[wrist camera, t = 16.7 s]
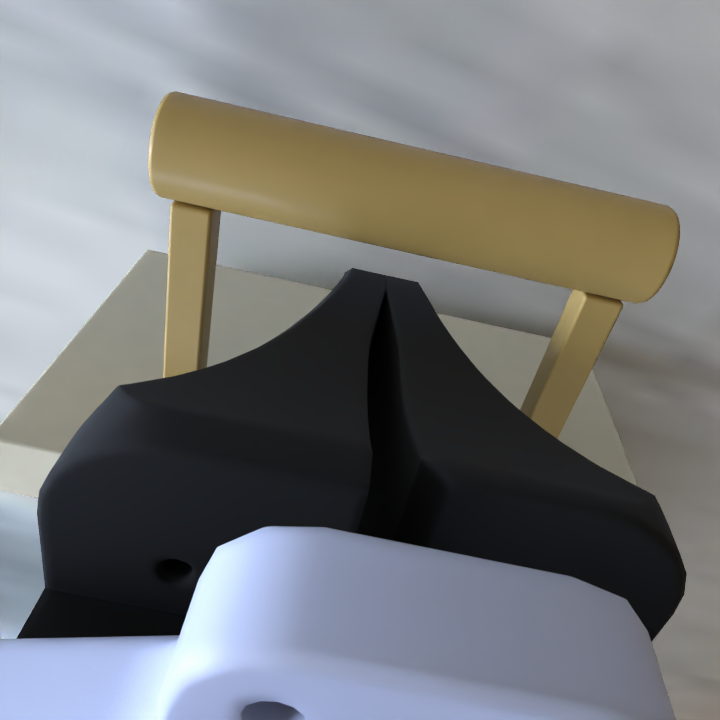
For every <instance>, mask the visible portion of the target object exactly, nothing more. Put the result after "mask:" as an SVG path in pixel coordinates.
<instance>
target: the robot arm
mask: <svg viewBox="0 0 720 720" xmlns="http://www.w3.org/2000/svg"><path fill="white" fill-rule="evenodd" d="M37 516H38V526H39V535H40V544H41V553H42V562H43V571H44V581H45V589H44V591H43V593H42V594H41V596H40V598H39V600H38V602H37V603H36V605H35V607H34V609H33V610H32V612H31V614H30V616H29V617H28V619H27V621H26V623H25V624H24V626H23V628H22V630H21V632H20V633H19V635H18V637H17V639H0V720H676V717H675V714H674V711H673V708H672V705H671V701H670V698H669V695H668V692H667V689H666V686H665V683H664V680H663V677H662V673H661V670H660V667H659V664H658V661H657V658H656V655H655V652H654V649H653V646H652V641H653V639H654V638H655V637H656V635H657V634H658V633H659V632H660V630H661V629H662V628H663V627H664V625H665V624H666V623H667V621H668V620H669V619H670V618H671V616H672V615H673V614H674V612H675V610H676V608H677V607H678V605H679V603H680V601H681V599H682V597H683V596H684V592H685V583H686V571H685V568H684V565H683V562H682V559H681V556H680V553H679V550H678V548H677V545H676V543H675V540H674V538H673V535H672V532H671V530H670V527H669V525H668V523H667V521H666V518H665V516H664V514H663V512H662V509H661V507H660V505H659V503H658V501H657V499H656V497H655V496H654V495H652V494H651V493H649V492H647V491H645V490H643V489H641V488H639V487H638V486H636V485H634V484H632V483H630V482H628V481H626V480H625V479H623V478H621V477H619V476H617V475H615V474H613V473H611V472H610V471H608V470H606V469H604V468H602V467H600V466H599V465H597V464H595V463H594V462H592V461H590V460H589V459H587V458H586V457H584V456H583V455H581V454H579V453H578V452H576V451H575V450H573V449H572V448H570V447H569V446H567V445H565V444H564V443H562V442H561V441H560V440H558V439H557V438H555V437H554V436H553V435H551V434H550V433H548V432H547V431H546V430H544V429H543V428H542V427H540V426H539V425H538V424H537V423H535V422H534V421H533V420H532V419H530V418H529V417H528V416H527V415H525V414H524V413H523V412H522V411H520V410H519V409H518V408H517V407H516V406H515V405H513V404H512V403H511V402H510V401H509V400H508V399H507V398H506V397H505V396H504V395H503V394H502V393H501V392H500V391H499V390H498V389H497V388H495V387H494V386H493V385H492V384H491V383H490V382H489V381H488V380H487V379H486V378H485V376H484V375H483V374H482V373H481V372H480V371H479V370H478V369H477V368H476V366H475V365H474V364H473V363H472V362H471V360H470V359H469V358H468V357H467V355H466V354H465V353H464V352H463V351H462V349H461V348H460V347H459V345H458V344H457V343H456V341H455V340H454V339H453V337H452V336H451V334H450V333H449V332H448V330H447V329H446V327H445V326H444V324H443V323H442V321H441V320H440V318H439V316H438V315H437V313H436V312H435V310H434V308H433V307H432V305H431V303H430V302H429V300H428V298H427V296H426V295H425V293H424V291H423V290H422V288H421V286H420V285H419V283H418V282H414V281H409V280H404V279H400V278H395V277H391V276H386V275H382V274H377V273H373V272H368V271H363V270H359V269H354V268H352V269H350V270H349V271H347V272H345V274H344V276H343V278H342V279H341V280H340V282H339V283H338V284H337V285H336V287H335V288H334V289H333V290H332V291H331V292H330V293H329V294H328V295H327V296H326V297H325V298H324V299H323V300H322V301H321V302H320V303H319V304H318V305H317V306H316V307H315V308H314V309H312V310H311V311H310V312H309V313H308V314H306V315H305V316H304V317H303V318H301V319H300V320H299V321H298V322H296V323H295V324H294V325H292V326H291V327H290V328H288V329H287V330H286V331H284V332H283V333H281V334H280V335H278V336H276V337H275V338H273V339H272V340H270V341H268V342H266V343H265V344H263V345H261V346H259V347H258V348H255V349H253V350H251V351H248V352H246V353H244V354H242V355H239V356H237V357H235V358H232V359H230V360H228V361H225V362H222V363H219V364H216V365H213V366H210V367H207V368H203V369H200V370H196V371H192V372H189V373H185V374H181V375H176V376H172V377H166V378H161V379H155V380H149V381H143V382H137V383H132V384H124V385H119V386H117V387H116V388H115V389H114V390H113V391H112V393H111V394H110V395H109V396H108V397H107V398H106V399H105V400H104V401H103V402H102V404H101V405H100V406H98V407H97V408H96V410H95V411H94V412H93V413H92V414H91V415H90V416H89V417H88V419H87V420H86V421H85V422H84V423H83V424H82V425H81V427H80V428H79V429H78V431H77V432H76V433H75V435H74V436H73V438H72V439H71V440H70V442H69V443H68V445H67V446H66V448H65V449H64V451H63V452H62V454H61V455H60V457H59V458H58V460H57V461H56V463H55V464H54V466H53V467H52V469H51V470H50V472H49V474H48V476H47V478H46V479H45V481H44V483H43V485H42V487H41V488H40V490H39V498H38V509H37Z"/></svg>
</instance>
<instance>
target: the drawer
mask: <svg viewBox="0 0 720 720" xmlns="http://www.w3.org/2000/svg"><path fill="white" fill-rule="evenodd" d="M148 169H149V178H150V183H151V187H152V189H153V191H154V192H155V193H156V194H157V195H159V196H160V197H162V198H167V199H171V200H175V201H174V202H173V203H172V204H171V206H170V228H169V251H168V254H166V253H161V252H157V251H152V250H147V251H146V252H145V253H144V254H143V255H142V257H141V258H140V259H139V260H138V261H137V263H136V264H135V265H134V266H133V267H132V268H131V270H130V271H129V272H128V273H127V274H126V276H125V277H124V278H123V279H122V280H121V282H120V283H119V284H118V285H117V286H116V287H115V289H114V290H113V291H112V292H111V293H110V295H109V296H108V297H107V298H106V299H105V301H104V302H103V303H102V304H101V305H100V306H99V308H98V309H97V310H96V311H95V312H94V314H93V315H92V316H91V317H90V318H89V320H88V321H87V322H86V323H85V324H84V325H83V327H82V328H81V329H80V330H79V331H78V333H77V334H76V335H75V336H74V337H73V339H72V340H71V341H70V342H69V343H68V344H67V346H66V347H65V348H64V349H63V350H62V352H61V353H60V354H59V355H58V356H57V358H56V359H55V360H54V361H53V362H52V363H51V365H50V366H49V367H48V368H47V369H46V371H45V372H44V373H43V374H42V375H41V377H40V378H39V379H38V380H37V381H36V382H35V384H34V385H33V386H32V387H31V388H30V390H29V391H28V392H27V393H26V394H25V396H24V397H23V398H22V399H21V400H20V401H19V403H18V404H17V405H16V406H15V407H14V409H13V410H12V411H11V412H10V413H9V415H8V416H7V417H6V418H5V419H4V420H3V422H2V423H1V424H0V491H4V492H9V493H14V494H19V495H24V496H29V497H34V498H39V490H40V488H41V487H42V485H43V483H44V481H45V479H46V478H47V476H48V474H49V472H50V470H51V469H52V467H53V466H54V464H55V463H56V461H57V460H58V458H59V457H60V455H61V454H62V452H63V451H64V449H65V448H66V446H67V445H68V443H69V442H70V440H71V439H72V438H73V436H74V435H75V433H76V432H77V431H78V429H79V428H80V427H81V425H82V424H83V423H84V422H85V421H86V420H87V419H88V417H89V416H90V415H91V414H92V413H93V412H94V411H95V410H96V408H97V407H98V406H100V405H101V404H102V402H103V401H104V400H105V399H106V398H107V397H108V396H109V395H110V394H111V393H112V391H113V390H114V389H115V388H116V387H117V386H119V385H124V384H132V383H137V382H143V381H149V380H155V379H161V378H166V377H172V376H176V375H181V374H185V373H189V372H192V371H196V370H200V369H203V368H207V367H210V366H213V365H216V364H219V363H222V362H225V361H228V360H230V359H232V358H235V357H237V356H239V355H242V354H244V353H246V352H248V351H251V350H253V349H255V348H258V347H259V346H261V345H263V344H265V343H266V342H268V341H270V340H272V339H273V338H275V337H276V336H278V335H280V334H281V333H283V332H284V331H286V330H287V329H288V328H290V327H291V326H292V325H294V324H295V323H296V322H298V321H299V320H300V319H301V318H303V317H304V316H305V315H306V314H308V313H309V312H310V311H311V310H312V309H314V308H315V307H316V306H317V305H318V304H319V303H320V302H321V301H322V300H323V299H324V298H325V297H326V296H327V295H328V294H329V293H330V292H331V291H332V290H330V289H325V288H321V287H316V286H312V285H307V284H303V283H298V282H293V281H289V280H284V279H280V278H275V277H271V276H266V275H262V274H257V273H252V272H248V271H243V270H239V269H234V268H230V267H225V266H221V265H216V259H217V248H218V237H219V226H220V214H221V211H225V212H229V213H234V214H238V215H243V216H247V217H252V218H256V219H261V220H265V221H270V222H274V223H279V224H283V225H288V226H292V227H296V228H301V229H305V230H310V231H314V232H319V233H323V234H328V235H332V236H337V237H341V238H346V239H350V240H354V241H359V242H363V243H368V244H372V245H377V246H381V247H386V248H390V249H395V250H399V251H404V252H408V253H413V254H417V255H421V256H426V257H430V258H435V259H439V260H444V261H448V262H453V263H457V264H462V265H466V266H471V267H475V268H480V269H484V270H488V271H493V272H497V273H502V274H506V275H511V276H515V277H520V278H524V279H529V280H533V281H538V282H542V283H546V284H551V285H555V286H560V287H564V288H569V289H573V290H572V293H571V295H570V297H569V300H568V302H567V304H566V306H565V309H564V311H563V313H562V315H561V318H560V320H559V322H558V325H557V327H556V329H555V331H554V334H553V336H552V338H548V337H544V336H539V335H535V334H530V333H525V332H521V331H516V330H512V329H507V328H503V327H498V326H494V325H489V324H484V323H480V322H475V321H471V320H466V319H462V318H457V317H453V316H448V315H444V314H439V313H437V315H438V316H439V318H440V320H441V321H442V323H443V324H444V326H445V327H446V329H447V330H448V332H449V333H450V334H451V336H452V337H453V339H454V340H455V341H456V343H457V344H458V345H459V347H460V348H461V349H462V351H463V352H464V353H465V354H466V355H467V357H468V358H469V359H470V360H471V362H472V363H473V364H474V365H475V366H476V368H477V369H478V370H479V371H480V372H481V373H482V374H483V375H484V376H485V378H486V379H487V380H488V381H489V382H490V383H491V384H492V385H493V386H494V387H495V388H497V389H498V390H499V391H500V392H501V393H502V394H503V395H504V396H505V397H506V398H507V399H508V400H509V401H510V402H511V403H512V404H513V405H515V406H516V407H517V408H518V409H519V410H520V411H522V412H523V413H524V414H525V415H527V416H528V417H529V418H530V419H532V420H533V421H534V422H535V423H537V424H538V425H539V426H540V427H542V428H543V429H544V430H546V431H547V432H548V433H550V434H551V435H553V436H554V437H555V438H557V439H558V440H560V441H561V442H562V443H564V444H565V445H567V446H569V447H570V448H572V449H573V450H575V451H576V452H578V453H579V454H581V455H583V456H584V457H586V458H587V459H589V460H590V461H592V462H594V463H595V464H597V465H599V466H600V467H602V468H604V469H606V470H608V471H610V472H611V473H613V474H615V475H617V476H619V477H621V478H623V479H625V480H626V481H628V482H630V483H632V484H634V485H636V486H638V485H637V483H636V480H635V477H634V475H633V472H632V470H631V467H630V465H629V462H628V459H627V457H626V454H625V452H624V449H623V446H622V444H621V441H620V439H619V436H618V433H617V431H616V428H615V426H614V423H613V421H612V418H611V415H610V413H609V410H608V408H607V405H606V402H605V400H604V397H603V395H602V392H601V390H600V387H599V384H598V382H597V379H596V377H595V374H594V371H593V369H592V368H593V366H594V364H595V362H596V360H597V358H598V356H599V354H600V352H601V350H602V348H603V346H604V344H605V342H606V340H607V338H608V336H609V334H610V332H611V330H612V328H613V326H614V324H615V322H616V320H617V318H618V316H619V314H620V312H621V310H622V308H623V304H622V302H621V300H622V301H627V302H631V303H641V302H645V301H648V300H649V299H651V298H652V297H653V296H654V295H655V294H656V293H657V292H658V291H659V289H660V288H661V287H662V285H663V284H664V282H665V280H666V279H667V277H668V275H669V273H670V271H671V268H672V266H673V263H674V260H675V257H676V254H677V250H678V245H679V239H680V224H679V219H678V216H677V214H676V212H675V211H674V210H673V209H672V208H670V207H669V206H667V205H663V204H658V203H654V202H650V201H645V200H641V199H637V198H632V197H628V196H624V195H620V194H615V193H611V192H607V191H602V190H598V189H594V188H589V187H585V186H581V185H576V184H572V183H568V182H564V181H559V180H555V179H551V178H546V177H542V176H538V175H533V174H529V173H525V172H520V171H516V170H512V169H508V168H503V167H499V166H495V165H490V164H486V163H482V162H477V161H473V160H469V159H464V158H460V157H456V156H452V155H447V154H443V153H439V152H434V151H430V150H426V149H421V148H417V147H413V146H409V145H404V144H400V143H396V142H391V141H387V140H383V139H378V138H374V137H370V136H365V135H361V134H357V133H353V132H348V131H344V130H340V129H335V128H331V127H327V126H322V125H318V124H314V123H309V122H305V121H301V120H297V119H292V118H288V117H284V116H279V115H275V114H271V113H266V112H262V111H258V110H253V109H249V108H245V107H241V106H236V105H232V104H228V103H223V102H219V101H215V100H210V99H206V98H202V97H197V96H193V95H189V94H185V93H180V92H170V93H168V94H167V95H165V97H164V98H163V99H162V101H161V103H160V105H159V107H158V110H157V112H156V115H155V118H154V121H153V125H152V130H151V135H150V142H149V152H148Z"/></svg>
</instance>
